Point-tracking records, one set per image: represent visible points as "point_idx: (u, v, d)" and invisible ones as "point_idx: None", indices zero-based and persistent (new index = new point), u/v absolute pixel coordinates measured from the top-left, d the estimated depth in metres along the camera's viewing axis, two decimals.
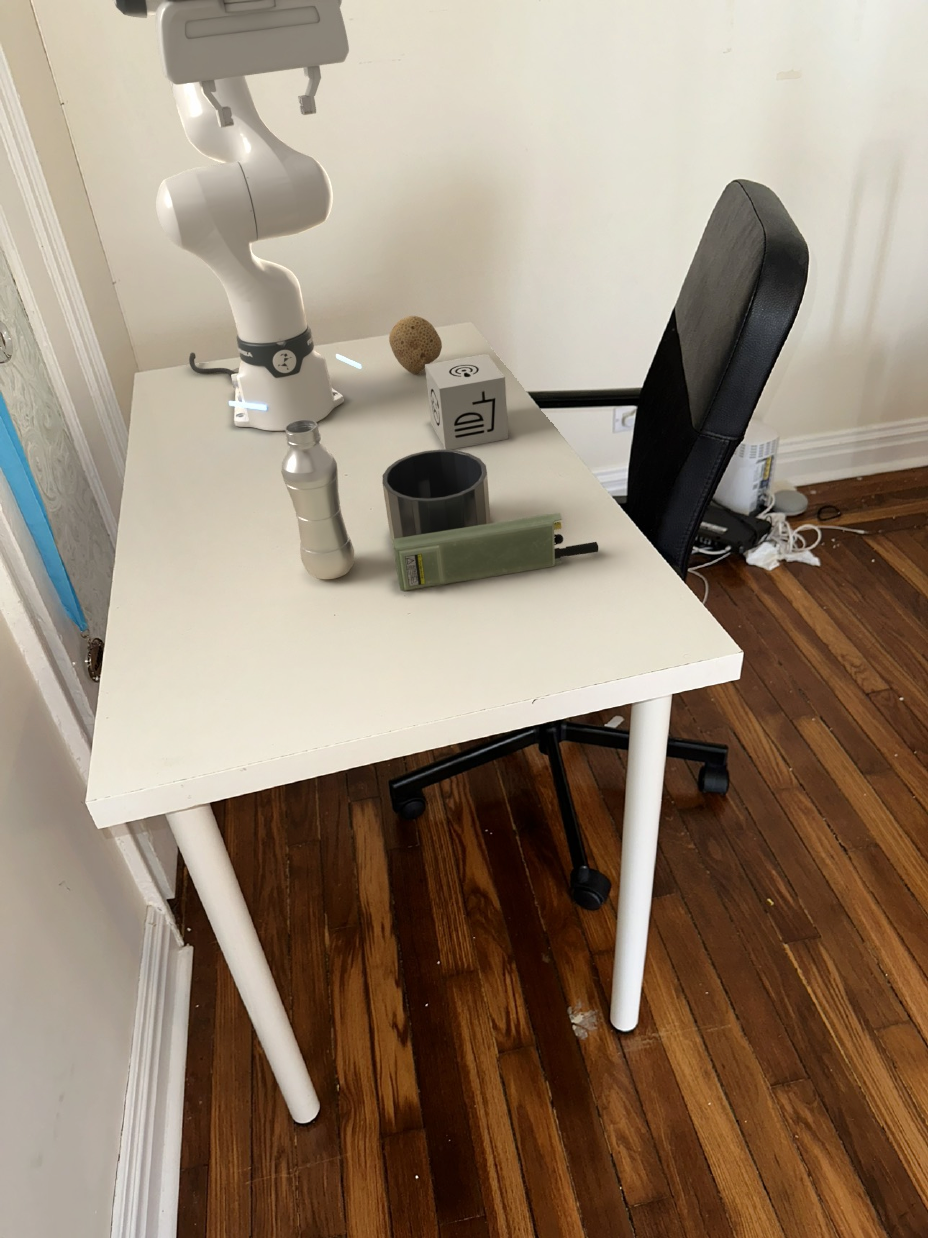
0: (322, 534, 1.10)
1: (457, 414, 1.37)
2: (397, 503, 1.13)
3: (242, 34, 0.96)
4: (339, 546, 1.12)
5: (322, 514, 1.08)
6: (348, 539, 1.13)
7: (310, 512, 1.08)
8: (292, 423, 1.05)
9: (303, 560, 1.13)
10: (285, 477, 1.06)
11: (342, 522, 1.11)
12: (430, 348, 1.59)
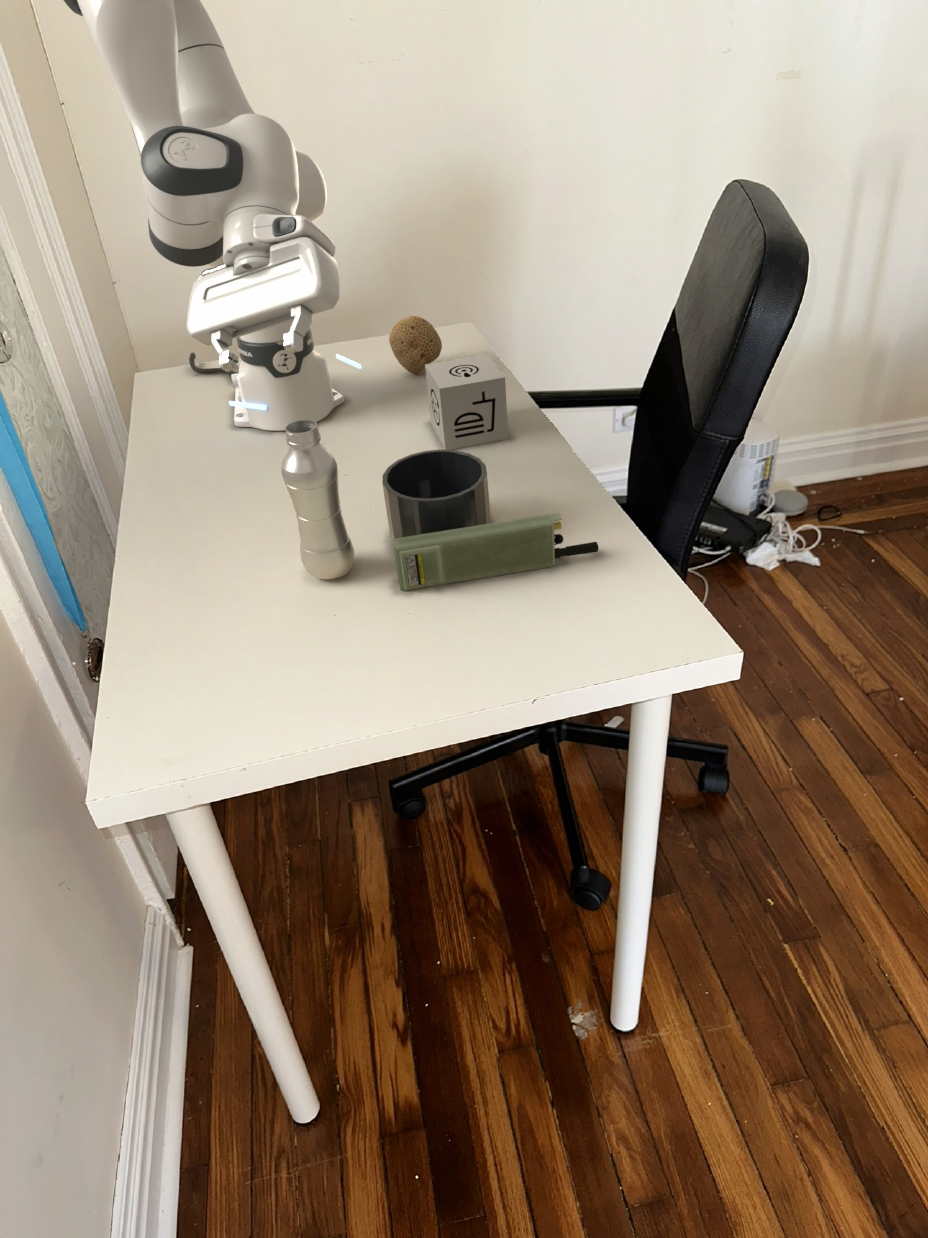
0: (322, 534, 1.10)
1: (457, 414, 1.37)
2: (397, 503, 1.13)
3: None
4: (339, 546, 1.12)
5: (322, 514, 1.08)
6: (348, 539, 1.13)
7: (310, 512, 1.08)
8: (292, 423, 1.05)
9: (303, 560, 1.13)
10: (285, 477, 1.06)
11: (342, 522, 1.11)
12: (430, 348, 1.59)
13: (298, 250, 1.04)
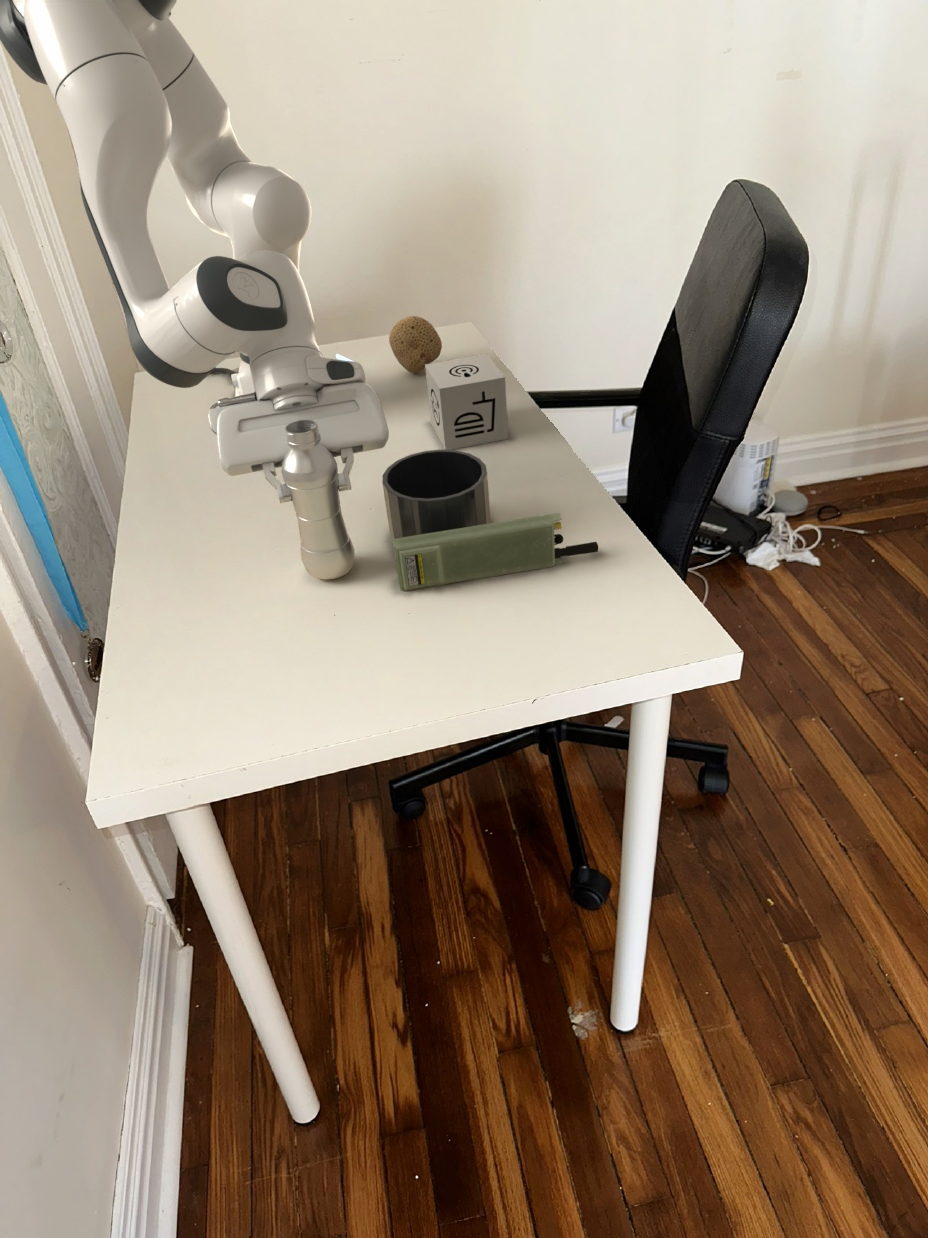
0: (322, 534, 1.10)
1: (457, 414, 1.37)
2: (397, 503, 1.13)
3: None
4: (339, 546, 1.12)
5: (322, 514, 1.08)
6: (348, 539, 1.13)
7: (311, 512, 1.08)
8: (292, 423, 1.05)
9: (303, 560, 1.13)
10: (285, 477, 1.06)
11: (342, 522, 1.11)
12: (430, 348, 1.59)
13: (354, 394, 1.09)
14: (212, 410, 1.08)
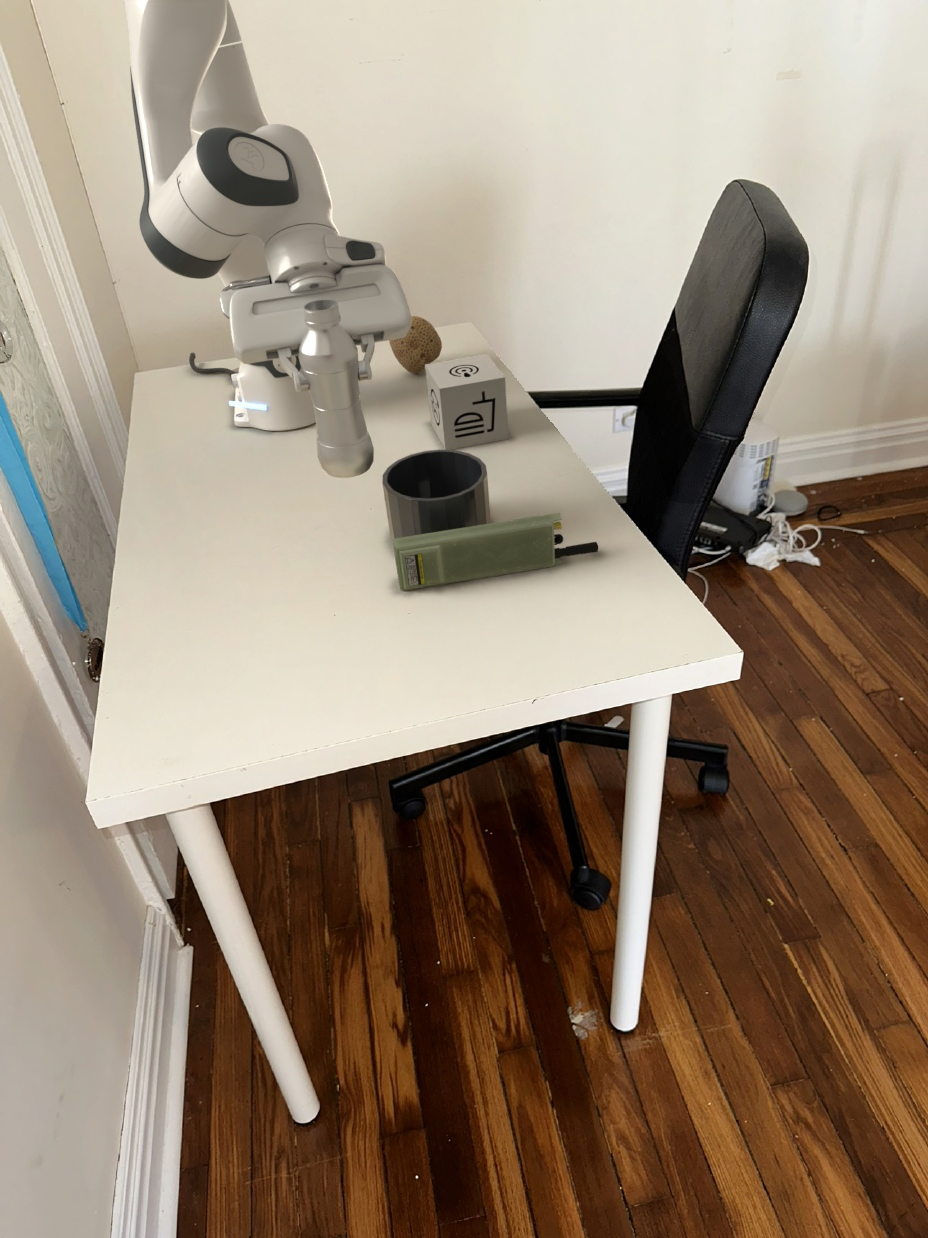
0: (341, 426, 1.04)
1: (457, 414, 1.37)
2: (397, 503, 1.13)
3: None
4: (359, 440, 1.06)
5: (342, 403, 1.02)
6: (368, 434, 1.07)
7: (329, 401, 1.02)
8: (310, 303, 0.99)
9: (320, 457, 1.07)
10: (303, 361, 1.00)
11: (362, 415, 1.05)
12: (430, 348, 1.59)
13: (375, 277, 1.03)
14: (224, 293, 1.02)
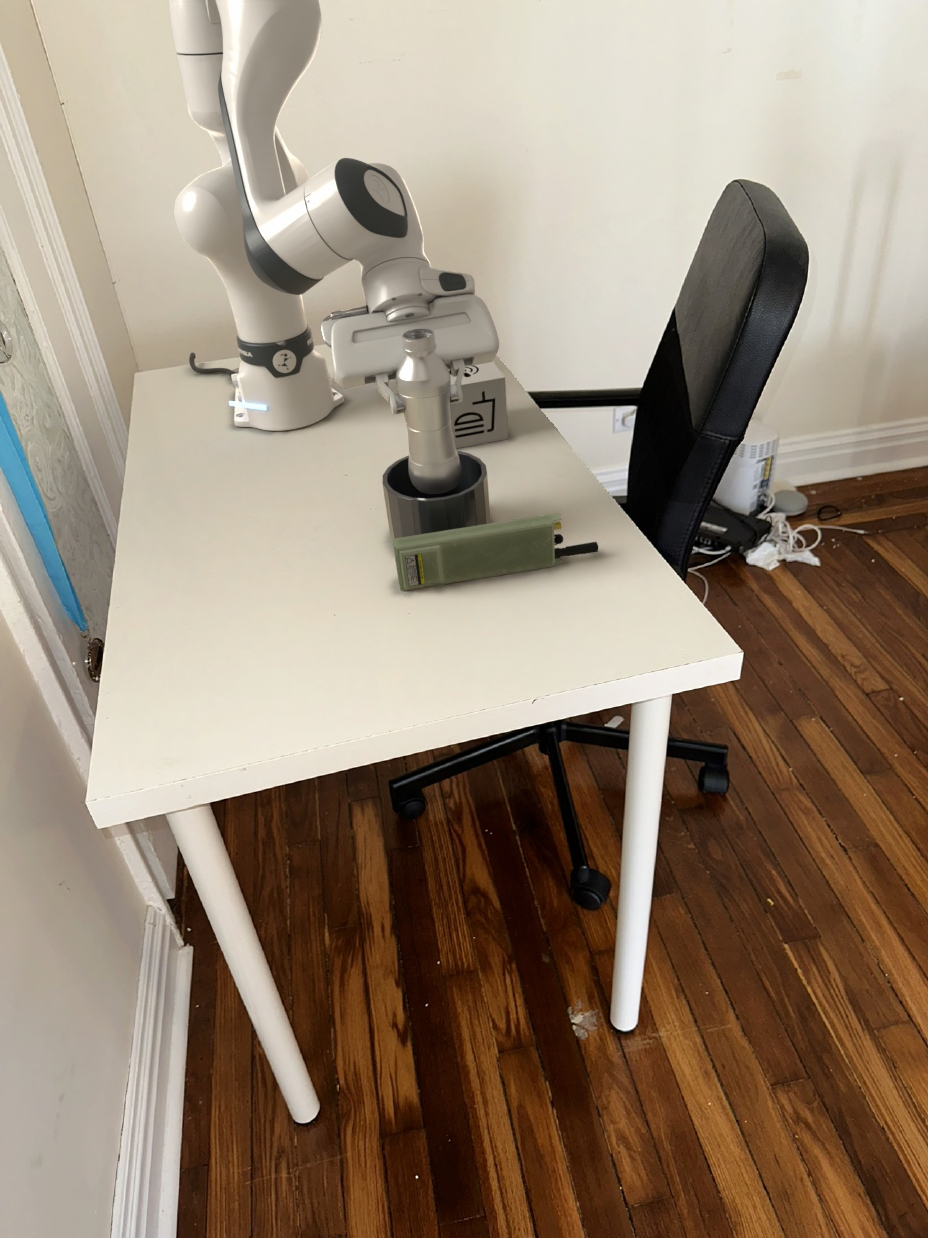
0: (433, 446, 1.11)
1: (457, 414, 1.37)
2: (397, 503, 1.13)
3: None
4: (449, 459, 1.12)
5: (435, 425, 1.09)
6: (456, 453, 1.14)
7: (424, 422, 1.09)
8: (408, 332, 1.06)
9: (412, 474, 1.14)
10: (400, 386, 1.07)
11: (452, 435, 1.12)
12: None
13: (465, 306, 1.10)
14: (325, 322, 1.09)
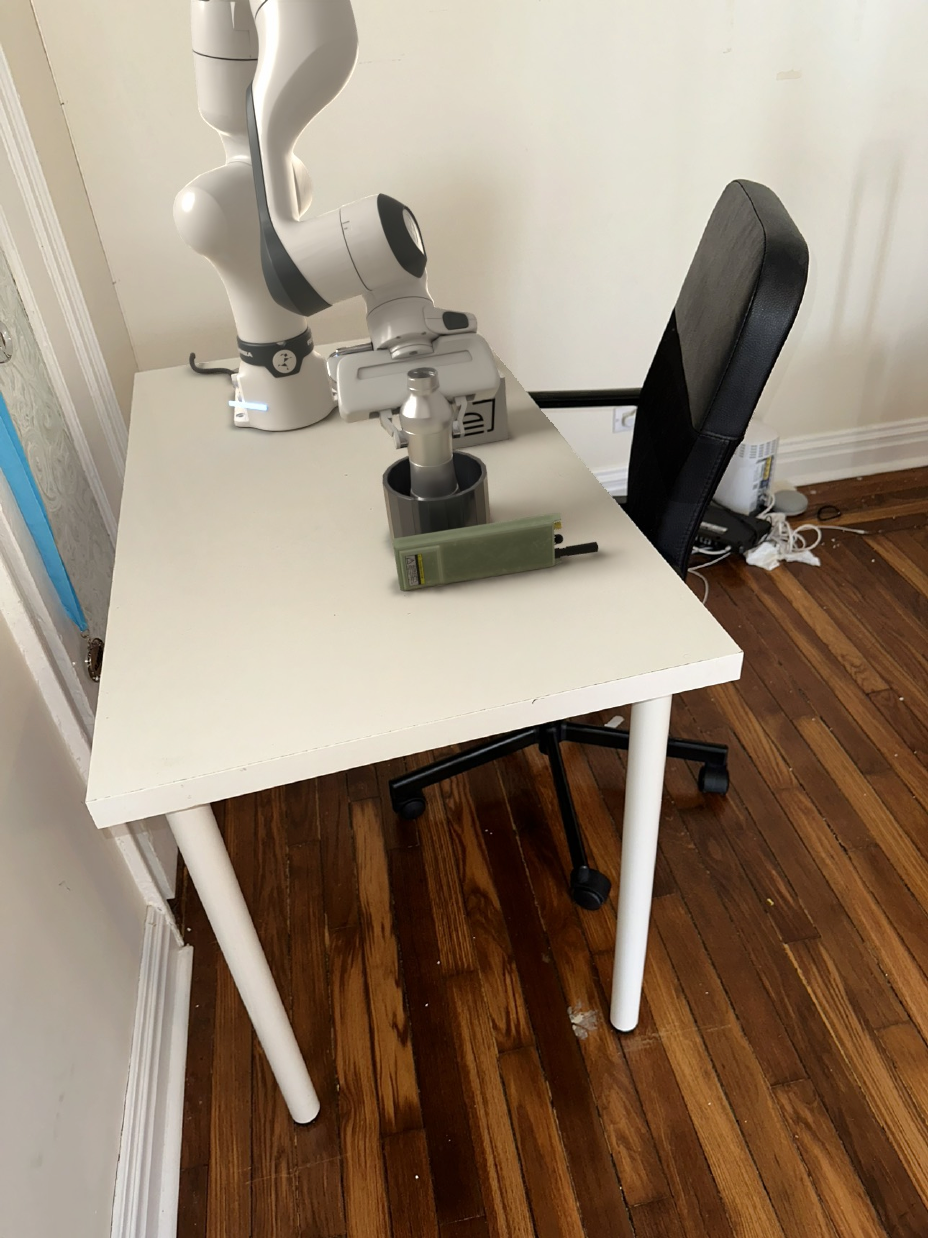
0: (435, 480, 1.13)
1: (457, 414, 1.37)
2: (397, 503, 1.13)
3: None
4: (450, 492, 1.15)
5: (437, 460, 1.12)
6: (457, 486, 1.17)
7: (426, 458, 1.12)
8: (412, 370, 1.09)
9: None
10: (404, 423, 1.09)
11: (453, 469, 1.15)
12: None
13: (467, 344, 1.13)
14: (331, 359, 1.12)
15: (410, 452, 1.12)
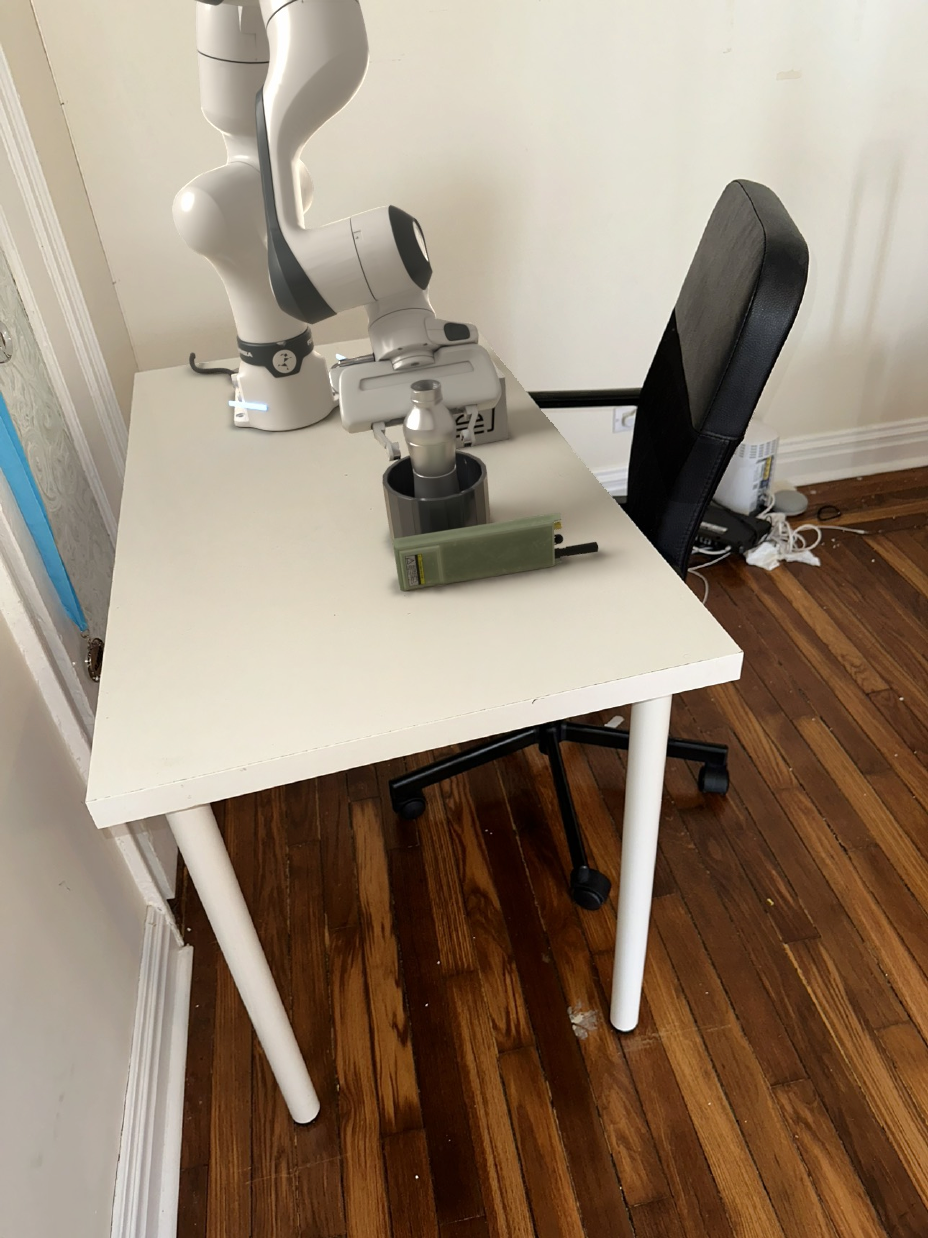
0: (439, 490, 1.14)
1: None
2: (397, 503, 1.13)
3: None
4: None
5: (441, 471, 1.13)
6: None
7: (430, 469, 1.13)
8: (415, 382, 1.10)
9: None
10: (408, 434, 1.10)
11: (457, 480, 1.16)
12: None
13: (469, 355, 1.13)
14: (333, 370, 1.13)
15: (414, 463, 1.13)
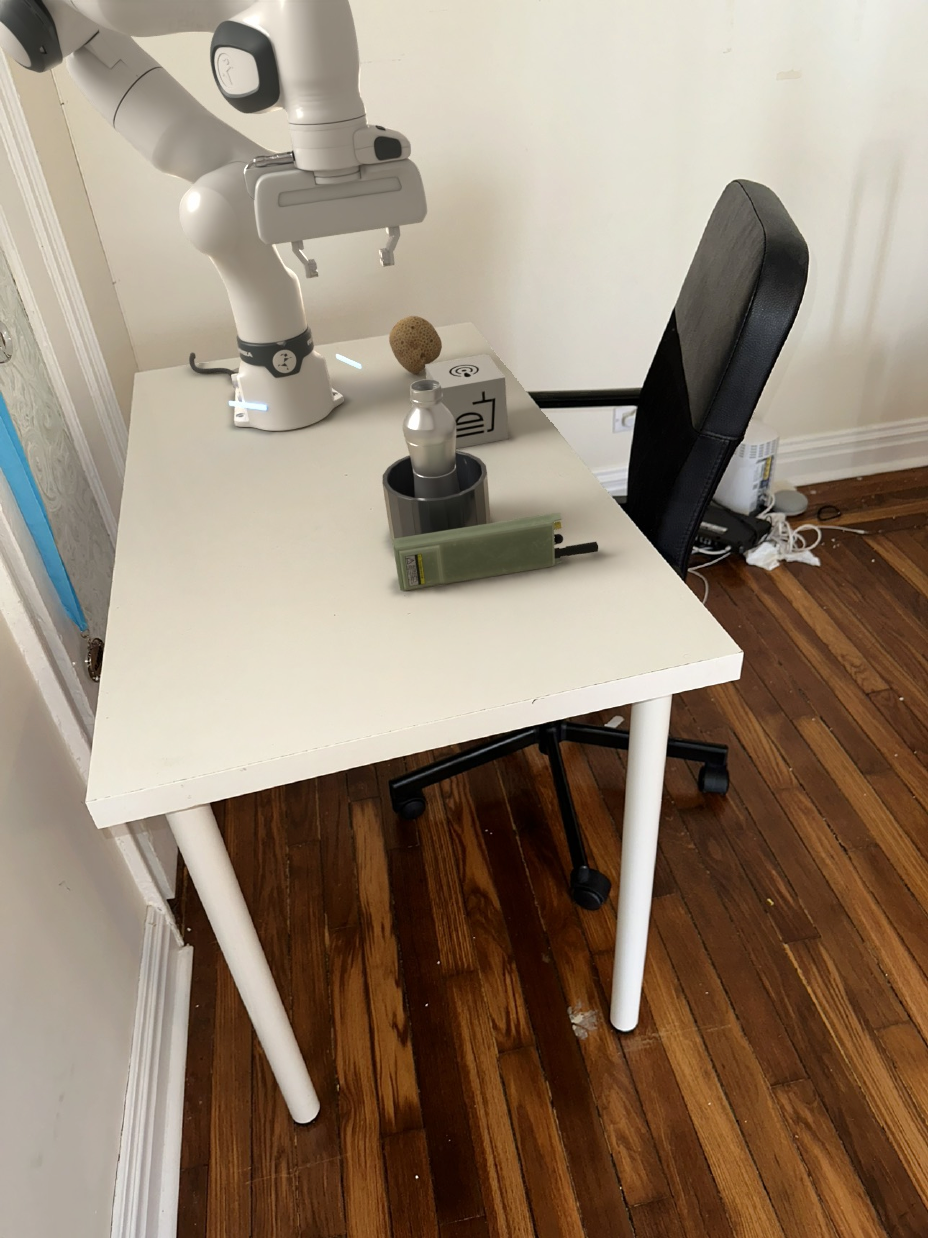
0: (439, 490, 1.14)
1: (457, 414, 1.37)
2: (397, 503, 1.13)
3: None
4: None
5: (441, 471, 1.13)
6: None
7: (430, 469, 1.13)
8: (415, 382, 1.10)
9: None
10: (408, 434, 1.10)
11: (457, 480, 1.16)
12: (430, 348, 1.59)
13: (398, 171, 1.05)
14: (248, 172, 1.03)
15: (414, 463, 1.13)
